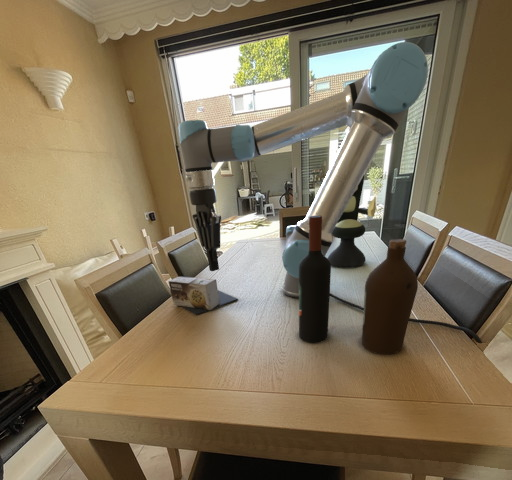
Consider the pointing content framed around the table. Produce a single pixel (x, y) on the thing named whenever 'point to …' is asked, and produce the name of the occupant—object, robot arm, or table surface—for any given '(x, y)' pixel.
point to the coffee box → (194, 292)
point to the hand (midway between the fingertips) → (214, 269)
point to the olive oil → (388, 301)
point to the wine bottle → (314, 288)
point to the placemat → (223, 300)
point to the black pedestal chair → (350, 232)
